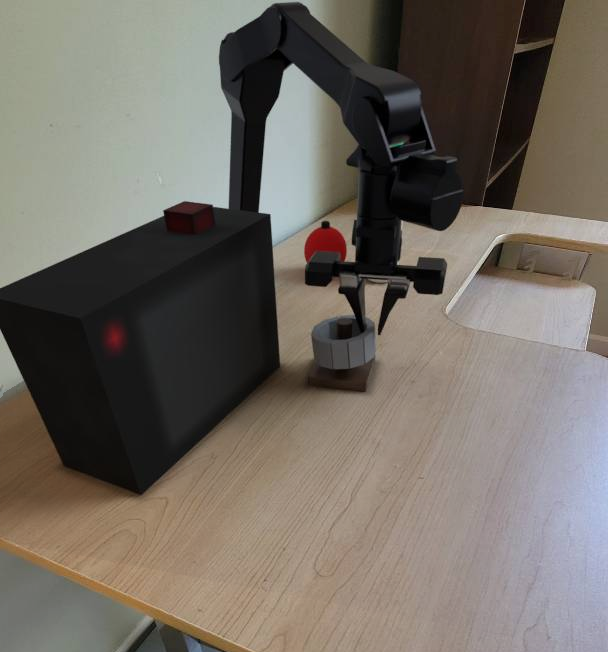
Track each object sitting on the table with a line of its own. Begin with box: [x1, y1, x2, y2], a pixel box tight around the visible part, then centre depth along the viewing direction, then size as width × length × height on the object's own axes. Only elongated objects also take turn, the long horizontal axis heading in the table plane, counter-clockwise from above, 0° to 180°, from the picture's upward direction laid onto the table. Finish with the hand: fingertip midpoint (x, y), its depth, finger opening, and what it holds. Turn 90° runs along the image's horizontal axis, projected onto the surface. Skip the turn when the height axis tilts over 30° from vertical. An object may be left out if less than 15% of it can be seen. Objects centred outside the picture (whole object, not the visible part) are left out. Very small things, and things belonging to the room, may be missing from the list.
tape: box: [310, 314, 377, 369], centre depth 78 cm, size 9×9×4 cm
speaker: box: [0, 200, 281, 496], centre depth 68 cm, size 15×35×24 cm, turn 152°
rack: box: [308, 318, 377, 392], centre depth 79 cm, size 9×9×8 cm
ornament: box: [303, 220, 348, 264], centre depth 108 cm, size 9×9×10 cm
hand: (371, 333), depth 76 cm, fingers closed
